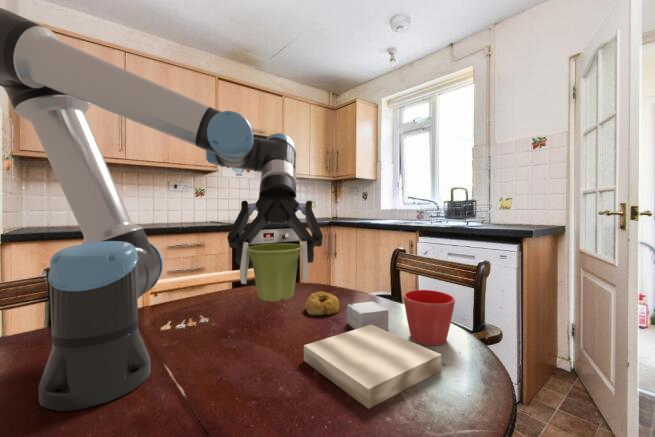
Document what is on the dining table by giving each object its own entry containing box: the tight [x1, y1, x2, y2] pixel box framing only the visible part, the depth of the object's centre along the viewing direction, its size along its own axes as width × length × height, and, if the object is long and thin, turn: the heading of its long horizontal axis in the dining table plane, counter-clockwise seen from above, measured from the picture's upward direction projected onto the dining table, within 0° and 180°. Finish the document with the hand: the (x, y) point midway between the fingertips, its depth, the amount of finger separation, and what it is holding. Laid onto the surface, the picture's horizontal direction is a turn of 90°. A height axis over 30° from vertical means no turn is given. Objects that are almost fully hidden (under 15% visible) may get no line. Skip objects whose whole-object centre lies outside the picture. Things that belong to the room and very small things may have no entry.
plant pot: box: [247, 243, 303, 302], centre depth 54 cm, size 9×9×9 cm
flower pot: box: [403, 289, 456, 346], centre depth 70 cm, size 11×11×10 cm
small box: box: [346, 301, 389, 331], centre depth 78 cm, size 8×8×5 cm
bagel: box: [304, 291, 340, 317], centre depth 90 cm, size 10×11×5 cm
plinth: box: [303, 325, 442, 409], centre depth 58 cm, size 18×18×3 cm
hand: (274, 278), depth 51 cm, fingers closed on plant pot, 9 cm apart
